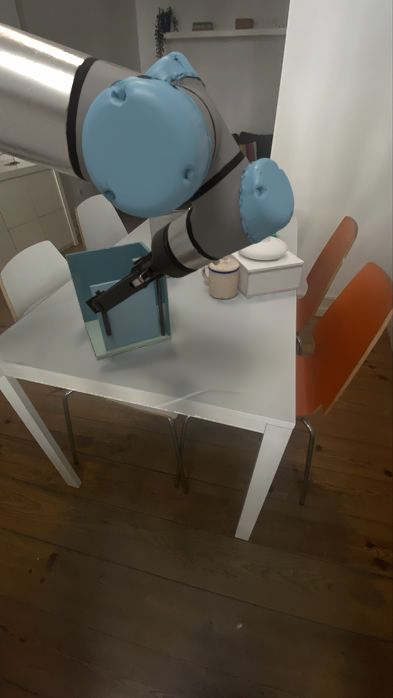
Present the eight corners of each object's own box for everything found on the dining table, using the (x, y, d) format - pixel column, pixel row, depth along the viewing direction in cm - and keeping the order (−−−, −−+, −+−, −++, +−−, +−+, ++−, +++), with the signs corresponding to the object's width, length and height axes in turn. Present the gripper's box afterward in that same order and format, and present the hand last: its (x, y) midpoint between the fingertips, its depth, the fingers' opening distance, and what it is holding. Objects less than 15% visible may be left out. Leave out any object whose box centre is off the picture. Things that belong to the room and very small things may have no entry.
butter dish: (271, 266, 110) (278, 218, 100) (299, 289, 96) (309, 237, 87) (224, 273, 106) (226, 224, 96) (245, 298, 93) (250, 244, 83)
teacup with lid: (243, 290, 97) (246, 253, 89) (228, 303, 91) (230, 264, 84) (210, 281, 102) (210, 245, 95) (194, 292, 96) (193, 255, 89)
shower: (97, 359, 72) (76, 283, 60) (84, 324, 83) (65, 254, 71) (171, 338, 78) (165, 264, 66) (150, 308, 89) (141, 241, 77)
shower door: (107, 353, 71) (91, 289, 61) (105, 349, 73) (89, 285, 63) (161, 338, 76) (154, 276, 66) (158, 334, 77) (152, 272, 67)
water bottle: (181, 275, 106) (176, 193, 90) (160, 281, 103) (152, 197, 87) (168, 265, 112) (162, 188, 97) (147, 271, 109) (138, 191, 93)
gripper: (151, 319, 39) (83, 343, 55) (238, 229, 53) (164, 268, 69) (111, 268, 36) (52, 309, 52) (214, 187, 50) (143, 238, 66)
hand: (116, 286), depth 60 cm, fingers open, 13 cm apart
